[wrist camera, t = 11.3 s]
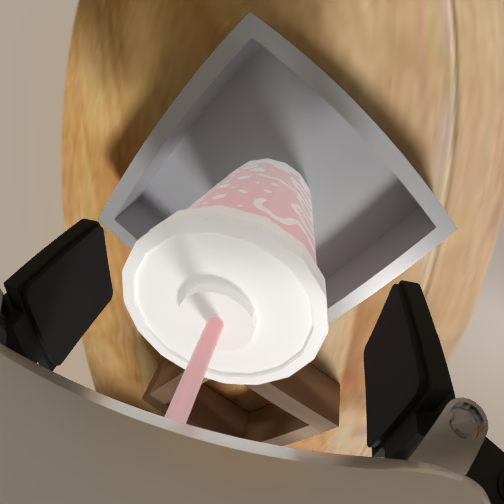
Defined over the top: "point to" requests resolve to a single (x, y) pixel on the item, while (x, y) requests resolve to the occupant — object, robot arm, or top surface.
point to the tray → (290, 152)
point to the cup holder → (264, 419)
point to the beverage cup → (232, 283)
